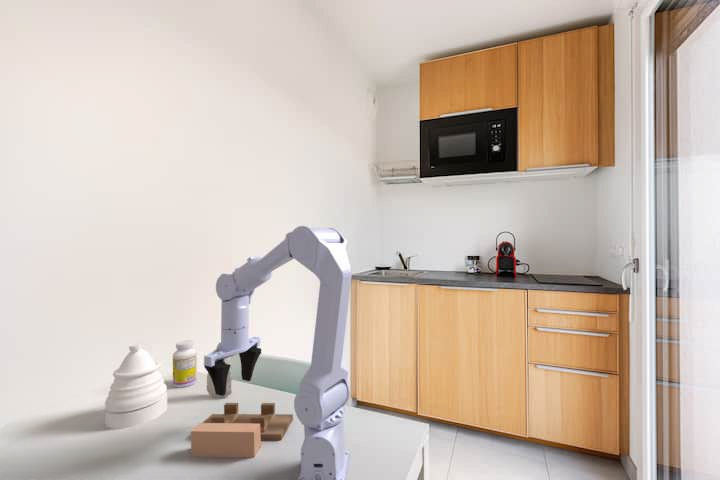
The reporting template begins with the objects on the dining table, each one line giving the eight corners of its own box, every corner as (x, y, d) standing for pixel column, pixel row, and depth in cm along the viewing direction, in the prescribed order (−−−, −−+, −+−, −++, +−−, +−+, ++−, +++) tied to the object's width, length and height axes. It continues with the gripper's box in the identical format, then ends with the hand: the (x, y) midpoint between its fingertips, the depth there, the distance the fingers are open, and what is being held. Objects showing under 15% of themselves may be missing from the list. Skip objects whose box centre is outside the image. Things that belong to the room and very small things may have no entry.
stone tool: (235, 394, 88) (234, 341, 89) (228, 399, 85) (226, 344, 86) (210, 392, 91) (209, 340, 91) (202, 397, 88) (201, 343, 88)
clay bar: (254, 458, 61) (253, 432, 61) (191, 456, 62) (190, 431, 62) (260, 448, 64) (260, 423, 64) (200, 447, 65) (199, 422, 65)
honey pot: (163, 419, 76) (162, 345, 77) (97, 434, 71) (96, 354, 71) (170, 398, 88) (169, 333, 89) (113, 409, 82) (112, 340, 83)
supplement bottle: (177, 380, 100) (177, 340, 100) (200, 378, 101) (199, 338, 102) (169, 389, 93) (168, 346, 94) (193, 386, 95) (192, 344, 95)
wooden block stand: (281, 440, 66) (281, 419, 66) (191, 438, 68) (191, 419, 68) (292, 419, 74) (292, 401, 74) (212, 418, 76) (211, 401, 76)
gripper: (245, 317, 79) (244, 371, 78) (194, 332, 65) (193, 397, 65) (267, 320, 76) (266, 376, 76) (218, 337, 62) (217, 405, 62)
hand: (234, 386), depth 70 cm, fingers open, 7 cm apart
